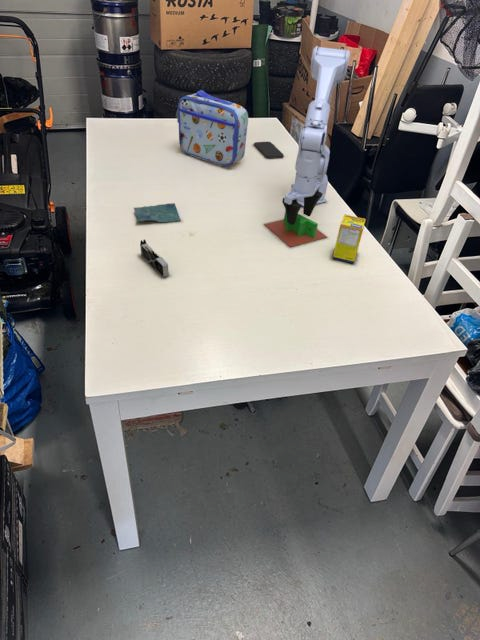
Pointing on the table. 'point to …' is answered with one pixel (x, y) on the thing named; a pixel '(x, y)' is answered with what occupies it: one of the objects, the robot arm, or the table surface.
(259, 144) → the phone
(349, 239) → the supplement box
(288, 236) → the napkin
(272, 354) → the table surface
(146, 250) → the graphics card
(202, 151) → the lunch box
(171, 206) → the terrain model
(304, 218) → the pipe clamp
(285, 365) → the table surface
